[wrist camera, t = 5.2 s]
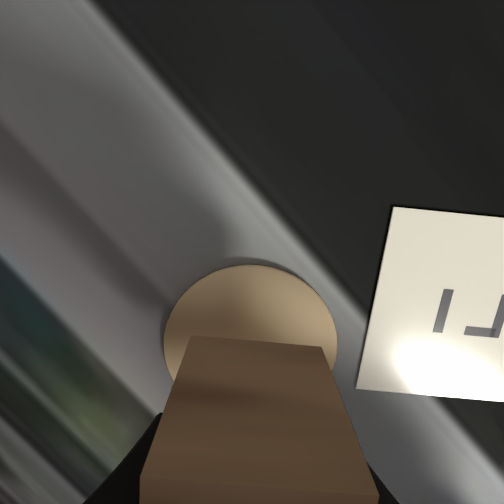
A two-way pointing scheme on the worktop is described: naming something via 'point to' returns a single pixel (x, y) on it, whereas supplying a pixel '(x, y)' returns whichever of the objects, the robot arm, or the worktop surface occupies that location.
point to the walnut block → (255, 430)
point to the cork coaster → (250, 312)
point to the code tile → (438, 308)
